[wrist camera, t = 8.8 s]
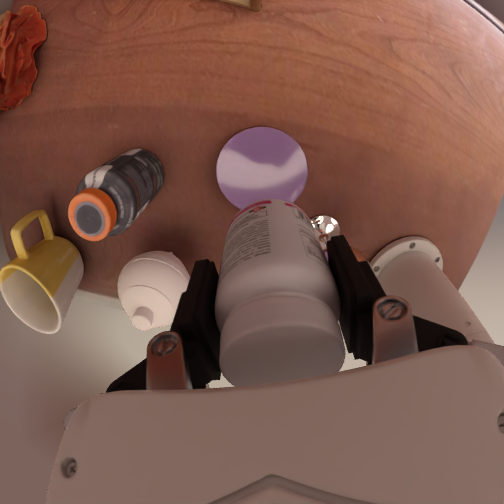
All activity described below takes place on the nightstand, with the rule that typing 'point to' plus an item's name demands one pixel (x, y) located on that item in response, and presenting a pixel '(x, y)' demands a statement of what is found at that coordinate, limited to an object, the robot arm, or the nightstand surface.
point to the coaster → (261, 167)
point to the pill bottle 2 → (276, 298)
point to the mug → (41, 277)
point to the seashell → (19, 54)
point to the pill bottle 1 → (115, 194)
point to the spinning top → (152, 288)
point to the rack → (246, 4)
